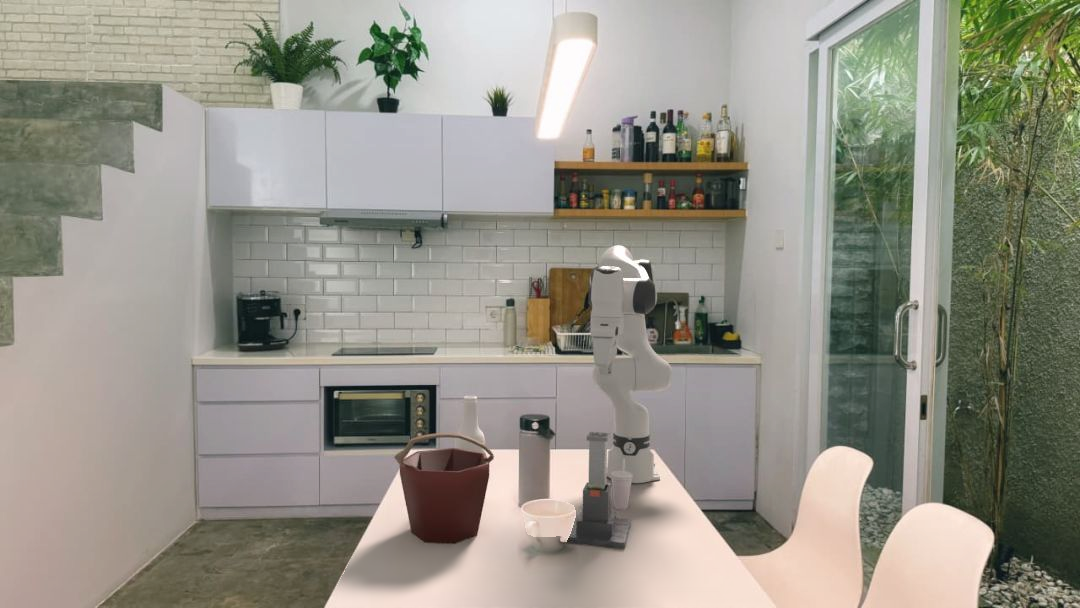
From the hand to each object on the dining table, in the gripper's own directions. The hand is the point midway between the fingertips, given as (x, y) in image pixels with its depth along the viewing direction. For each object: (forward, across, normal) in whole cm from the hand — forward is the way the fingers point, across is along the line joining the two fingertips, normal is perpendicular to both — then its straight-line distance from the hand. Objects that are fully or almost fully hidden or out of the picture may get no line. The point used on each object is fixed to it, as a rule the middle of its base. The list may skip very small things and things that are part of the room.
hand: (605, 378), depth 185 cm
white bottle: (+39, -5, -40) cm, 56 cm away
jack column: (+31, +12, 0) cm, 33 cm away
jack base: (+38, +12, 0) cm, 40 cm away
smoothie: (+39, -8, +4) cm, 40 cm away
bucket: (+38, +20, -38) cm, 58 cm away
